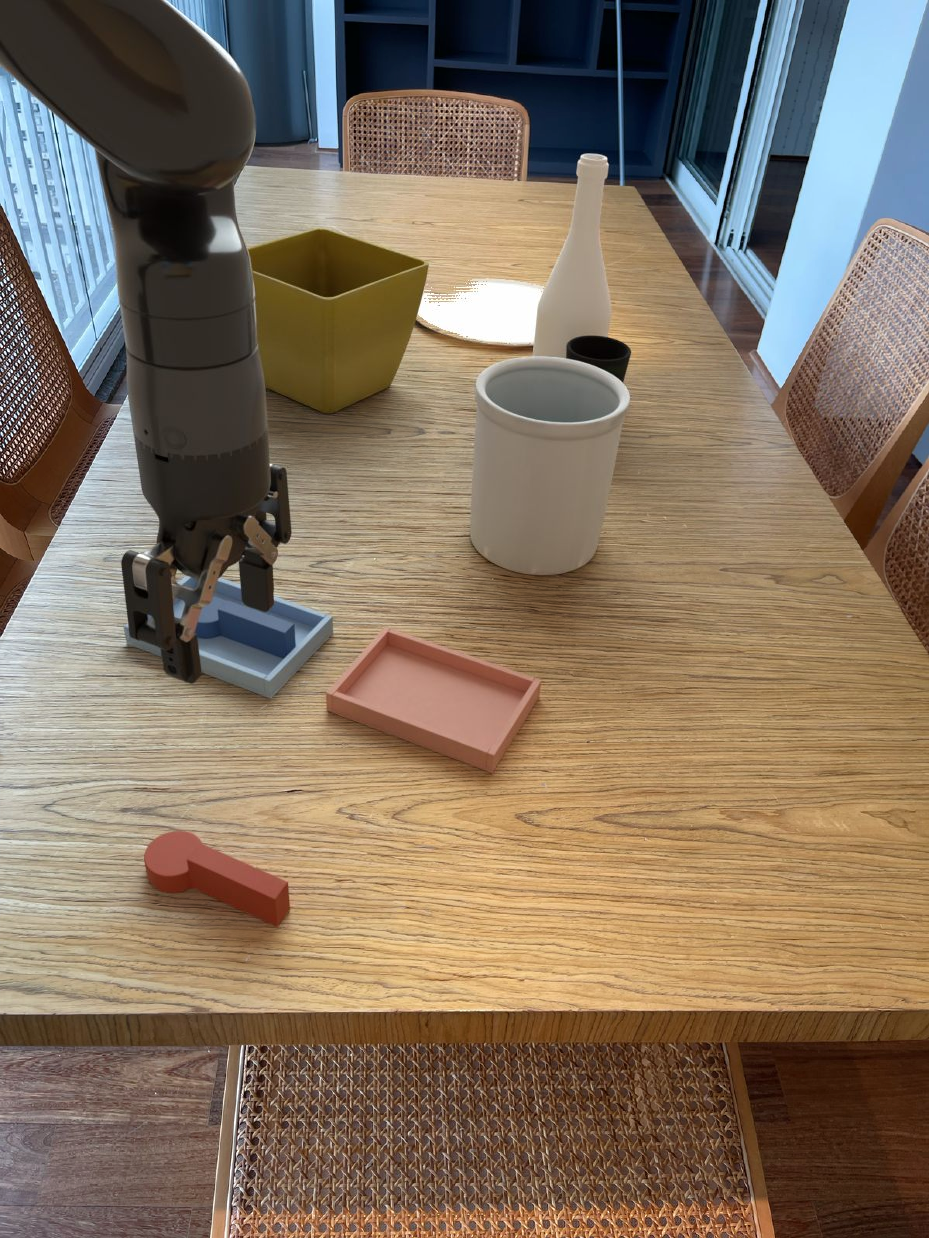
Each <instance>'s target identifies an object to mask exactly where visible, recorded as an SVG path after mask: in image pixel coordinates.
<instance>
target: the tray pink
mask: <svg viewBox="0 0 929 1238" xmlns="http://www.w3.org/2000/svg"><path fill="white" fill-rule="evenodd" d="M542 680H543V679H540V678H537V677H534V676H531V675H529V674H525V673H522V672H519V671H516V670H514V669H510V668H508V667H504V666H502V665H499V664H496V663H493V662H490V661H487V660H484V659H481V658H478V657H475V656H472V655H469V654H467V653H463V652H461V651H459V650H455V649H452V648H449V647H446V646H443V645H441V644H438V643H434V642H431V641H429V640H425V639H423V638H420V637H417V636H415V635H411V634H408V633H405V632H402V631H401V630H400V631H399V630H396V629H393V628H390V627H387V626H384V627H383V628H382V629H381V630H380V631H379V633H378V634H377V635H376V636H375V637H374V639H372V640H371V641H370V643H369V644H368V645H367V646H366V647H365V648H364V649H363V650H362V652H361V653H359V655H358V656H357V657H356V658H355V660H354V661H353V662H352V663H350V665H349V666H348V667H347V669H346V670H345V671H344V672H343V673H342V674H341V675H340V676H339V677H338V679H337V680H336V681H335V682H334V683H333V685H331V686H330V688H329V689H328V690H327V691H326V692H325V701H326V711H327V712H330V713H332V714H335V715H337V716H340V717H343V718H345V719H348V720H350V721H354V722H356V723H359V724H361V725H364V726H367V727H369V728H371V729H375V730H378V731H380V732H381V733H385V734H388V735H391V736H392V737H395V738H398V739H401V740H403V741H407V742H408V743H412V744H413V745H417V746H419V747H422V748H425V749H427V750H430V751H432V752H435V753H439V754H440V755H443V756H446V757H449V758H452V759H454V760H456V761H459V762H462V763H465V764H467V765H469V766H473V767H475V768H478V769H480V770H483V771H484V772H485V771H486V772H488V773H491V774H492V773H494V772H495V770H496V768H497V767H498V764H499V763H500V762H501V760H502V758H503V757H504V755H505V753H506V752H507V751H508V748H509V747H510V745H511V744H512V742H513V740H514V739H515V737H516V736H517V734H518V732H519V731H520V729H521V728H522V726H523V724H524V723H525V721H526V719H527V718H528V716H529V714H530V713H531V711H532V709H533V708H534V706H535V705H536V703H537V702H538V700H539V698H540V695H541V694H540V693H541V688H542V687H541V686H542Z"/></svg>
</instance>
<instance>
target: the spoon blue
mask: <svg viewBox="0 0 929 1238" xmlns="http://www.w3.org/2000/svg"><path fill="white" fill-rule="evenodd" d="M194 633H195V634H197V637H198V638H214V637H218V636H220V635H221V636H223V637H226V638H228V639H231V640H234V641H237V642H239V643H242V644H245V645H248V646H250V647H253V648H256V649H259V650H261V651H264V652H267V653H270V654H272V655H275V656H278V657H281V658H283V659H284V658H285V657H286V656H287V655H288V654H289V653H290V652H291V651H292V650H293V649H294V648H295V647H296V642H295V624H294V623H291V622H288V621H285V620H283V619H280V618H277V617H274V616H271V615H268V614H266V613H263V612H260V611H257V610H254V609H251V608H248V607H246V606H243V605H240V604H237V603H234V602H231V601H225V600H223V599H221V598H218V597H213V598H212V601H211V603H210V604H209V605H207V606H204V607H203V608H202V609H201V612H200V616H199V619H198V622H197V626H196V629H195V632H194Z"/></svg>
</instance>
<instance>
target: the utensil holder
mask: <svg viewBox="0 0 929 1238" xmlns="http://www.w3.org/2000/svg"><path fill="white" fill-rule="evenodd" d="M474 397H475V398H474V399H475V403H476V411H475V412H476V413H475V414H476V415H475V427H474V441H473V442H474V444H473V458H472V459H473V460H472V474H471V475H472V476H471V492H470V515H469V516H470V520H469V536H470V540H471V541H470V542H471V544H472V545H473V547H474V549H475V550H476V551H477V552H478V553H479V554H480V555H481V556H482V557H483V558H485V559H486V560H488V561H489V562H491V563H492V564H494V565H495V566H498V567H500V568H503V569H506V570H508V571H511V572H515V573H517V574H518V573H519V574H524V575H531V576H554V575H561V574H567V573H569V572H572V571H575V570H578V569H580V568H581V567H583V566H585V565H586V564H588V563H589V562H590V561H591V560H592V558H593V557H594V556H595V554H596V551H597V549H598V545H599V542H600V538H601V533H602V529H603V525H604V522H605V521H604V520H605V517H606V511H607V506H608V503H609V496H610V491H611V487H612V482H613V477H614V471H615V467H616V462H617V456H618V449H619V445H620V441H621V437H622V430H623V425H624V420H625V419H626V417H627V415H628V413H629V409H630V404H631V394H630V391H629V389H628V388H627V386H626V384H624V382H623V383H622V382H621V381H620V380H619V379H618V378H616V377H615V376H614V375H612V374H610V373H608V372H606V371H605V370H602V369H600V368H598V367H596V366H593V365H590V364H587V363H584V362H580V361H576V360H571V359H565V358H558V357H545V356H533V355H532V356H521V357H515V358H509V359H504V360H501V361H499V362H496V363H494V364H491V365H490V366H488V367H486V368H484V370H482V371H481V372H480V374H479V375H478V376H477V377H476V381H475V387H474Z"/></svg>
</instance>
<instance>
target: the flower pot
mask: <svg viewBox="0 0 929 1238" xmlns="http://www.w3.org/2000/svg"><path fill="white" fill-rule="evenodd" d="M247 249H248V252H249V256H250V259H251V264H252V269H253V276H254V287H255V297H256V313H257V329H258V346H259V353H260V359H261V363H262V368H263V373H264V379H265V389H269V390H271V391H273V392H275V393H278V394H280V395H282V396H285V397H287V398H288V399H292V400H293V401H296V402H298V403H300V404H302V405H305V406H307V407H310V408H311V409H314V410H317V411H318V412H321V413H323V414H334V413H336V412H338V411H340V410H343V409H344V408H348V407H349V406H351V405H353V404H356V403H357V402H360V401H361V400H363V399H367V398H368V397H370V396H372V395H374V394H376V393H379V392H381V391H383V390H385V389H387V388H389V387H390V386H392V383H393V381H394V379H395V377H396V375H397V372H398V370H399V368H400V365H401V363H402V361H403V358H404V355H405V353H406V350H407V347H408V345H409V342H410V339H411V337H412V333H413V330H414V327H415V324H416V322H417V320H416V318H417V315H418V311H419V307H420V304H421V300H422V296H423V292H424V288H425V285H426V283H427V277H428V273H429V267H430V262H429V261H428V260H425V259H422V258H419V257H416V256H413V255H410V254H406V253H403V252H401V251H397V250H394V249H392V248H388V247H385V246H382V245H379V244H376V243H373V242H370V241H367V240H364V239H361V238H358V237H355V236H352V235H350V234H345V233H343V232H339V231H336V230H333V229H330V228H326V227H325V228H324V227H315V228H312V229H308V230H305V231H302V232H298V233H295V234H292V235H291V234H290V235H288V236H283V237H281V238H277V239H273V240H271V241H267V242H264V243H260V244H257V245H253V246H250V247H247Z"/></svg>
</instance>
